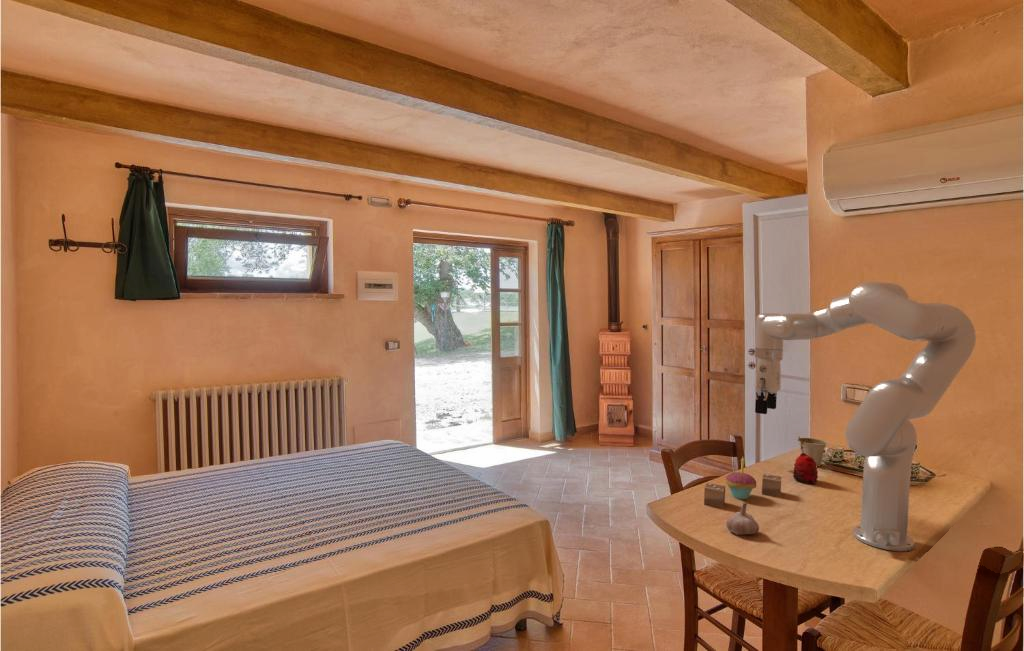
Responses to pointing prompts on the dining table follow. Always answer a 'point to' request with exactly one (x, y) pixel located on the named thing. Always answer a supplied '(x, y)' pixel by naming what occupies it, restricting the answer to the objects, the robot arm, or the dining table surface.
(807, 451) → the flower pot
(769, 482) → the two dot block
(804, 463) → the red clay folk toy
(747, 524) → the garlic bulb
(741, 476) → the cupcake
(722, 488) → the three dot block
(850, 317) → the robot arm
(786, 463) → the dining table surface
